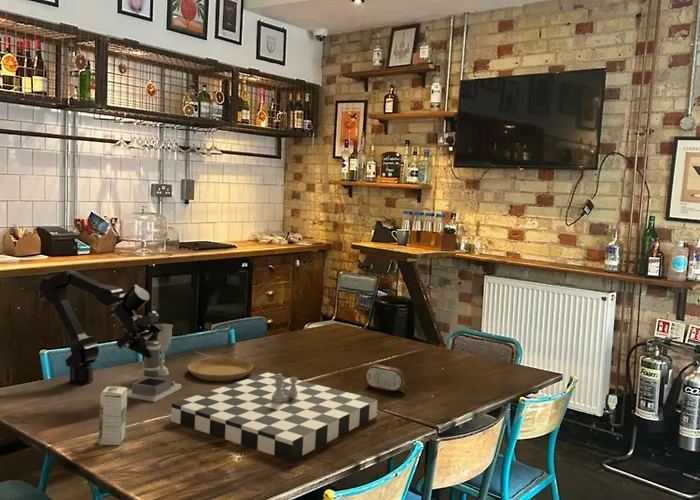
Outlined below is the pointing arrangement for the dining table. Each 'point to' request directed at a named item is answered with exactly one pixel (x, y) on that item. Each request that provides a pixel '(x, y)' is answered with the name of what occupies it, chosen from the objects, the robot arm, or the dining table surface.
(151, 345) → the grey rounded cylinder
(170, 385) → the white base plate
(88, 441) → the dining table surface
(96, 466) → the dining table surface
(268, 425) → the checkerboard
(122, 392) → the syrup box
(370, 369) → the tin
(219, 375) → the plant saucer
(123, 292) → the robot arm
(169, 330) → the chalice
